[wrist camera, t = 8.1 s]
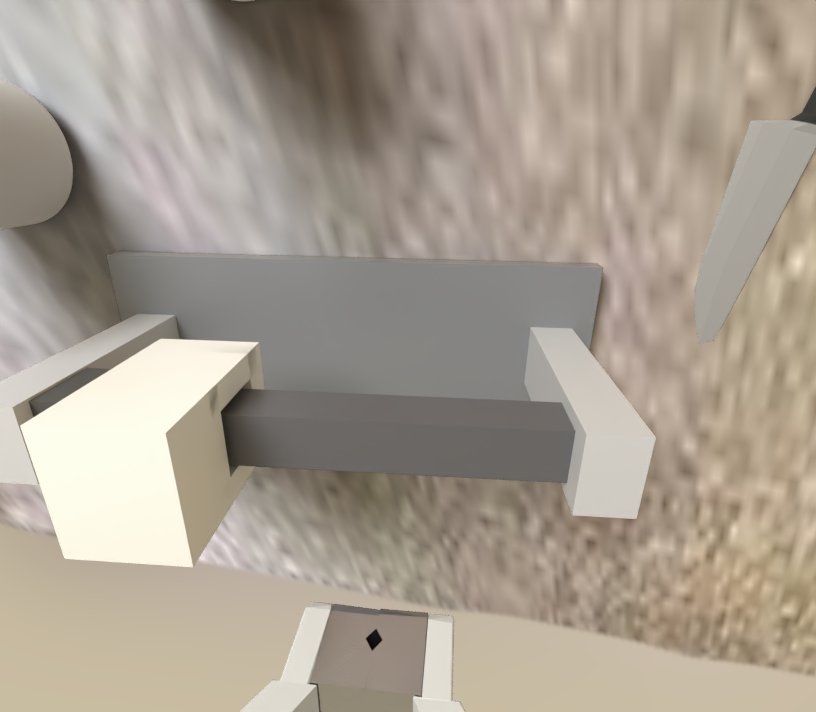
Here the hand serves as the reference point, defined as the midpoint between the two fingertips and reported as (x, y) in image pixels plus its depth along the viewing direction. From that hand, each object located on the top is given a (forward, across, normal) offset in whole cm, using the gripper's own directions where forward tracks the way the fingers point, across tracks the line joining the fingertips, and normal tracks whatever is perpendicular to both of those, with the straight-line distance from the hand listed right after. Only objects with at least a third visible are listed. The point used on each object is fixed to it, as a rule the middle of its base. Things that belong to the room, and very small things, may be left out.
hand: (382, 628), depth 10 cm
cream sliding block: (+10, +8, 0) cm, 13 cm away
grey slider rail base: (+16, +4, 0) cm, 17 cm away
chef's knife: (+18, -14, -8) cm, 24 cm away
